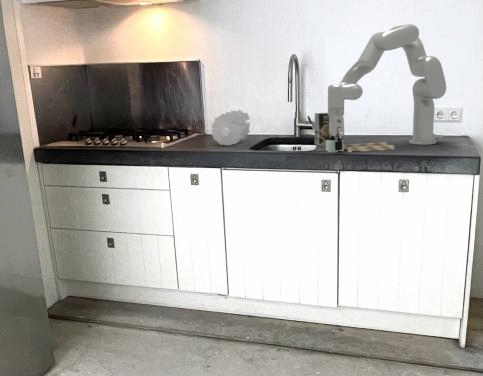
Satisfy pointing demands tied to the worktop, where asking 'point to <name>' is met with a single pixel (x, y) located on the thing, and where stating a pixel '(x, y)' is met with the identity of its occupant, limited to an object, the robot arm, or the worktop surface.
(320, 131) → the coffee box
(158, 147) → the worktop surface
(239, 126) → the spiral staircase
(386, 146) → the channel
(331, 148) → the sage block
